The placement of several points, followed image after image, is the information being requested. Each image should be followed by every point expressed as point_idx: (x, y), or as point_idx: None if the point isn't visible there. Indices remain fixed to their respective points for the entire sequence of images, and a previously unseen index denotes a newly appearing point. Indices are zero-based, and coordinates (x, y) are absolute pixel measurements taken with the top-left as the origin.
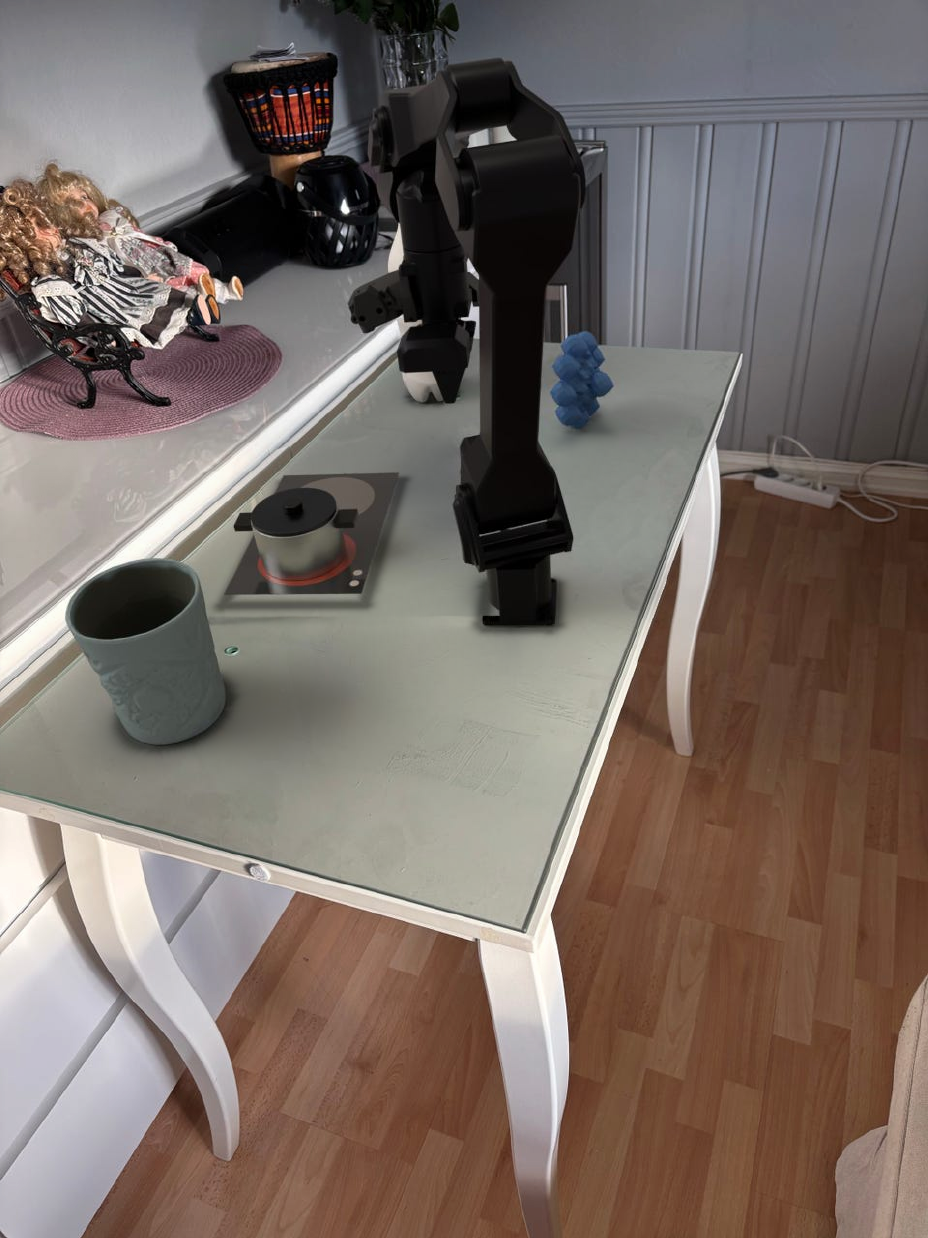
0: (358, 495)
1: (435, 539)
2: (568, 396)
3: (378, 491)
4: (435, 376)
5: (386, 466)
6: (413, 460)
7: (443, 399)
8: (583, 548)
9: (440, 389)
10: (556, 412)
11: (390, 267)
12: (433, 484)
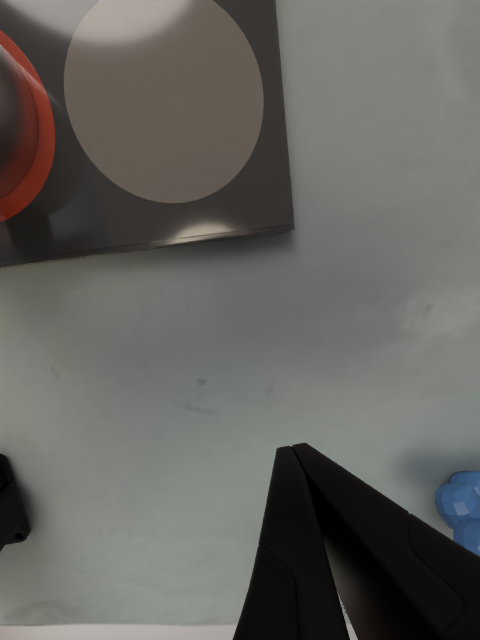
0: (194, 162)
1: (107, 342)
2: None
3: (213, 202)
4: (257, 559)
5: (340, 180)
6: (363, 230)
7: (275, 457)
8: (126, 544)
9: (268, 493)
10: (460, 492)
11: None
12: (279, 292)
